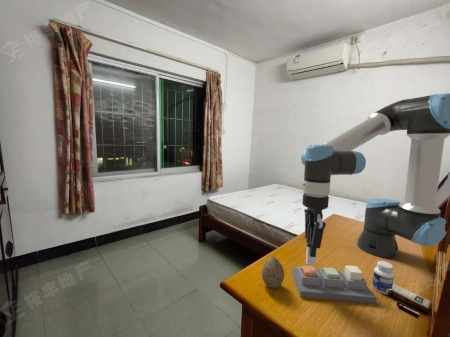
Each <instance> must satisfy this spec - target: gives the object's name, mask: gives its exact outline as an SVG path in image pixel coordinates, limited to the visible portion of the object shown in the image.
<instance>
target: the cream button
mask: <svg viewBox="0 0 450 337" xmlns="http://www.w3.org/2000/svg"><path fill="white" fill-rule="evenodd" d="M344 270H345V272H344V274H345V275H346V276H347V277H348V279H349V280H359V281H362V277H363V272H362V271H361V269H360V268H359V267H358V266H357V265H345V266H344Z"/></svg>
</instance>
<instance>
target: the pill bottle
mask: <svg viewBox="0 0 450 337" xmlns="http://www.w3.org/2000/svg"><path fill="white" fill-rule="evenodd" d="M393 269H394V267H393V265H392V264H391V263H390V262H387V261H384V260H378V261H377V264H376V266H375V267H374V269H373V273H372V274H373V275H372V276H373V277H372V283H371V287H372V288H373V289H374V290H375V291H376V292H378V293H380V294H383V295H389V294H388V292H389V289H392V290H393V285H394V279H395V274H394V272H393Z"/></svg>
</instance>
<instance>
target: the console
mask: <svg viewBox="0 0 450 337" xmlns="http://www.w3.org/2000/svg"><path fill="white" fill-rule="evenodd" d="M313 268H314V270H315V271H316V277H309V276H304V275H303V273H302V266H297V267H291V272H290V273H291V276H292V278H293V281H294V284H295V287H296V290H297V292H298V295H299V297H300V298H310V299H319V300H320V299H321V300H331V301H344V302H352V303H353V302H354V303H365V304H376V303H377V297H376V296H375V294H374V293H373V292H372V290H371V289H370V288H369V287H368V286H367V284H368V282H367V281H366V280H365V279H364V277H363V276H362V281H359V280H349V279H348V277H347V276H346V275H345V274H344V272H345V269H343V270H342V269H340V270H336V271H337V273H338V274H339V279H334V278H326V277H325V275H324V273H323V268H318V269H316V268H315V267H313Z"/></svg>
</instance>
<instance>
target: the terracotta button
mask: <svg viewBox="0 0 450 337" xmlns="http://www.w3.org/2000/svg"><path fill="white" fill-rule="evenodd" d="M301 267H302V273H303V275H304V276H309V277H316V271H315V270H314V268H315V267H314V265H302V266H301Z"/></svg>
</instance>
